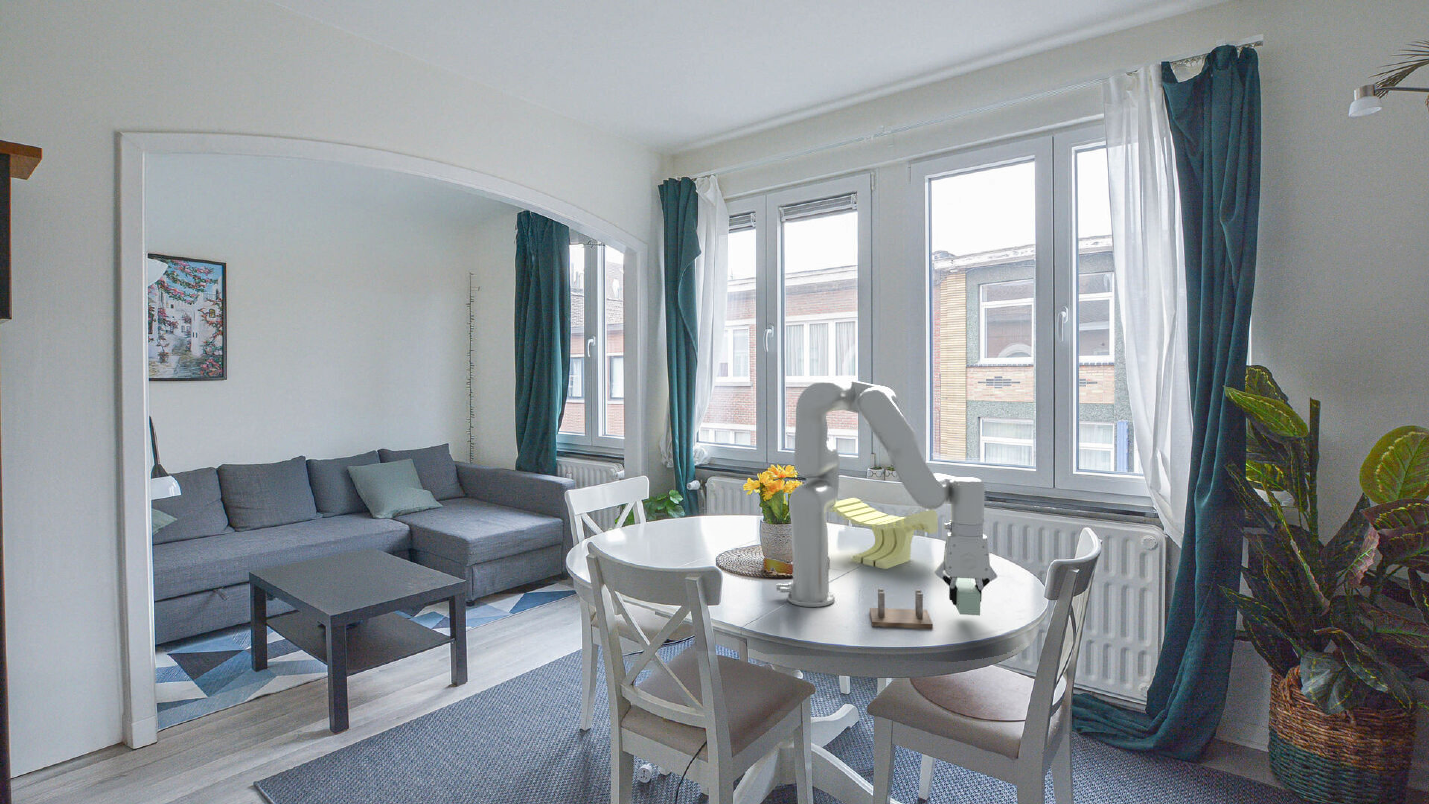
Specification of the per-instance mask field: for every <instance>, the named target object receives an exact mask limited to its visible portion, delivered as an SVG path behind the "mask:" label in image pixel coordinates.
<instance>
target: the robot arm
mask: <svg viewBox="0 0 1429 804" xmlns="http://www.w3.org/2000/svg"><path fill="white" fill-rule="evenodd" d="M898 406H899V400H898V397H897V395H896V393H895V392H894V391H893V390H892V389H890V388H889V387H886V386H882V385H877V384H871V383H867V382H862V381H856V380H852V379H847V378H825V379H821V380H818V381H816V382H813V383H812V384H810V385H809V386H808V385H807V387H806V388H805V389H803V391H802V392H801V393H800V395H799V396H798V398H797V402H796V406H795V430H794V431H795V433H794V458H793V461H794V462H793V463H794V468H795V471H796V472H797V474H798V475H799V476H801V477H803V478H805V482H804V483H802V484H799V485H798V486H797V487H795V488H794V489H793V491H792V492H791V494H790V497H789V500H788V508H789V509H788V510H789V517H790V524H791V541H792V542H791V543H792V549H791V550H792V564H793V577H792V579H791V582H788V583H780V582H779V583H778V582H776V591H780V593H788V594H787V600H788V602H790V603H791V604H793V605H795V606H796V605H797V606H800V607H806V608H817V607H825V606H829V605H831V604H833V603H834V602H835V597H836V596H835V594H834V593H832V592H831V591H829V588H830V587H829V586H830V584H829V583H830V581H829V579H830V577H829V535H828V534H829V533H828V525H827V520H826V513H827V512H830V510H831V509H832V508H833V507H834V506H835V504H836V502H837V501H838V498H839V489H840V488H839V486H840V485H839V484H840V482H839V481H840V456H839V455H840V454H839V451H838V449H837V448H836V446H835V445H834V444H833V443H831V441H828V433H829V431H828V430H829V429H828V421H827V420H828V419H827V415H828V413H830V412H838V411H845V412H851V413H856V414H860V415H861V418H862V419H863V420H864V422H865V423H866V425H867V426H868V428H869V429H870V430H871V431H872V432H873V434H874V436H875V437H876V438H877V440H878V441H879V443H880V444H881V446H882V447H883V449H884V450H885V452H886V453H887V456H888V459H889V461H890V464H891V465H892V468H893V469H894V472H895V473H896V476H897V478H898V479H899V481H900V482H901V484H902V485H903V487H904V488H905V490H906V491H907V493H908V494H909V495H910V496H911V498H912V499H913V500H914V502H915V503H916V504H917V505H918V506H920V507H922V508H923V509H926V510H936V509H939V508H941V507H942V506H943V505H945V504H950V520H949V522H948V523H944V525H943V526H944V527H943V529H944V530H947V531H949V532H947V535H946V540H945V544H944V545H945V546H944V552H943V553H944V554H943V561H942V562H941V563H940V564H939V565H938V567H937V568H936V569H935V571H934V573H935V576H937V577H939V578H940V579H941V580H943V581H944V583H945V584H946V585H947V586H949V589H948V590H949V591H948V592H949V594H948V595H949V596H948V598H949V601H951V604H952V605H953V606H955V605H956V604H957V589H956V581H957V578H965V579H973V580H974V581H975V584H974V585H975V587H976V588H977V590H978V591H979V593H980V594H981V599H980V603H981V602H982V598H983V597H982V595H983V594H982V592H983V591H982V590H984V588H985V587H986V586H987V585H988V584H989V583H990V582H992V581H994V580H996V579H997V578H998V575H997V573H996V572H995V570H994V568H992V566H991V565H990V564H991V563H990V561H991V560H990V546H989V541H988V536H987V535H986V534H984V529H985V528H984V527H985V524H984V523H985V495H986V494H985V491H986V490H985V489H986V488H985V487H986V486H985V483H984V481H983V480H982V479H980V478H976V477H970V476H969V477H966V476H964V477H963V476H961V477H957V476H952V475H948V474H943V473H933V472H932V471H931V470H930V468H929V467H928V465H927V463H926V462H925V460H924V459H923V456H922V454H921V452H920V448H919V443H918V435H917V433H916V431H915V430H914V429H913V427H912V426H911V424H910V423H909V421H908V420H907V419H906V418H905V416H904V415H903V414H902V413H901V411H900V410H899V408H898ZM944 572H945V573H944Z"/></svg>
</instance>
